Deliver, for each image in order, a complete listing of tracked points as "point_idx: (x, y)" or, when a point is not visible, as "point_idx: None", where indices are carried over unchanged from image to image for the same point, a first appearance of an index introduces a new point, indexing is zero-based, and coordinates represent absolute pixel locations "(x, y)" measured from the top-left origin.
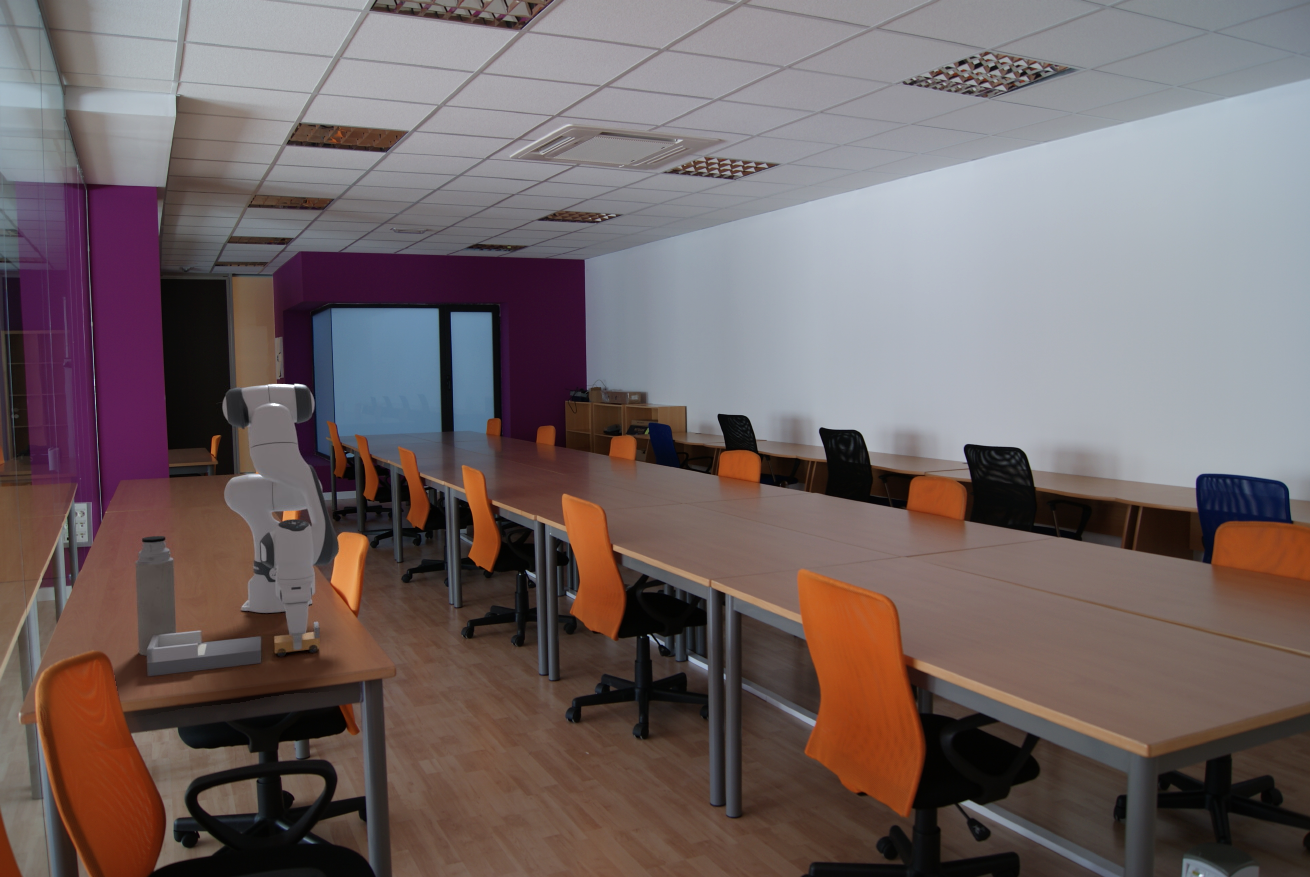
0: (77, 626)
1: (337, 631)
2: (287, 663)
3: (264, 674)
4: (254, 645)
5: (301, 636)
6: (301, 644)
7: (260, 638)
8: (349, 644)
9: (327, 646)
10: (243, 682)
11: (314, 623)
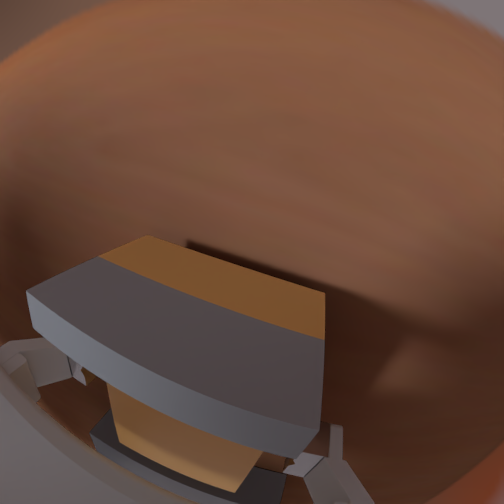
0: None
1: (36, 94)
2: (373, 438)
3: (408, 481)
4: (197, 496)
5: (370, 502)
6: (342, 445)
7: (114, 449)
8: (270, 46)
9: (219, 186)
10: (411, 501)
11: (72, 354)
